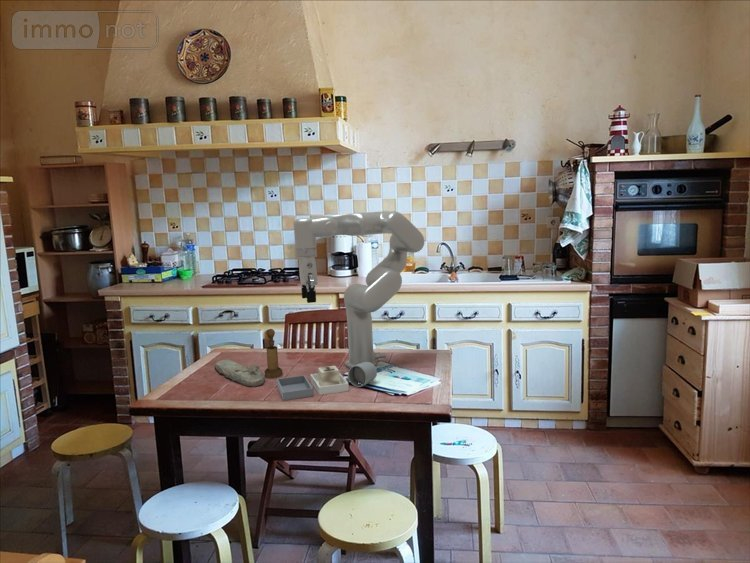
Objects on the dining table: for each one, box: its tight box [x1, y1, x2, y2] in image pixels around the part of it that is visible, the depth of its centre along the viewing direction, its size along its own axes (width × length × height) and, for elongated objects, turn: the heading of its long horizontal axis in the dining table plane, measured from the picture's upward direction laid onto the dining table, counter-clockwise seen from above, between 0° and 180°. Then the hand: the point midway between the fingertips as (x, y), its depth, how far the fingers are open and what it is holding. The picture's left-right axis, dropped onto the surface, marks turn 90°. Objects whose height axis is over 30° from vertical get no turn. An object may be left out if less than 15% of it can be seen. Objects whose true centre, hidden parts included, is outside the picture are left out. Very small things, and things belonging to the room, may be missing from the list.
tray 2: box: [310, 372, 350, 396], centre depth 193 cm, size 10×15×3 cm, turn 18°
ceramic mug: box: [345, 362, 378, 388], centre depth 196 cm, size 11×8×8 cm
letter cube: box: [317, 365, 340, 387], centre depth 193 cm, size 6×6×6 cm
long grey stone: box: [214, 358, 266, 388], centre depth 210 cm, size 35×5×10 cm
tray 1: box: [275, 374, 315, 401], centre depth 190 cm, size 10×15×3 cm, turn 18°
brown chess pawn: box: [264, 328, 283, 379], centre depth 206 cm, size 7×6×18 cm
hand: (309, 300), depth 202 cm, fingers open, 9 cm apart
